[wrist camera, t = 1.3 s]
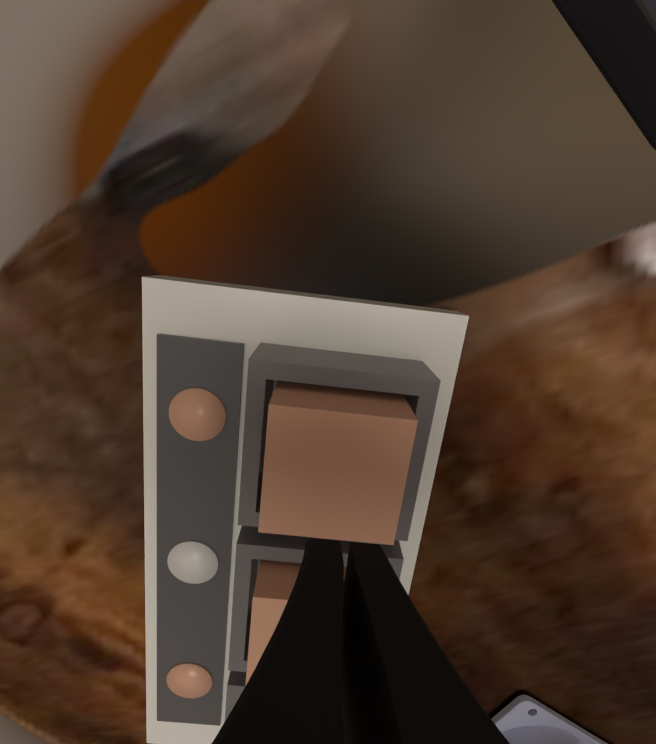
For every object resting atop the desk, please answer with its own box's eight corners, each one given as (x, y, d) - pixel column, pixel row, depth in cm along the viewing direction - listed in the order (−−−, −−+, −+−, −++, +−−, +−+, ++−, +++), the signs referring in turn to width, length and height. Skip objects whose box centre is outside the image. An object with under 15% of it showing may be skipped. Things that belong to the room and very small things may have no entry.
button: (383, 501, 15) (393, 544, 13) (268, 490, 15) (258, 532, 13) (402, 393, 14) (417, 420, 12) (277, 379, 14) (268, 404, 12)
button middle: (357, 642, 17) (362, 701, 15) (255, 633, 17) (245, 692, 15) (373, 557, 16) (381, 608, 14) (263, 547, 16) (252, 596, 14)
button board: (369, 727, 23) (378, 823, 19) (158, 711, 22) (123, 805, 19) (456, 310, 16) (497, 327, 12) (158, 275, 16) (105, 281, 12)
